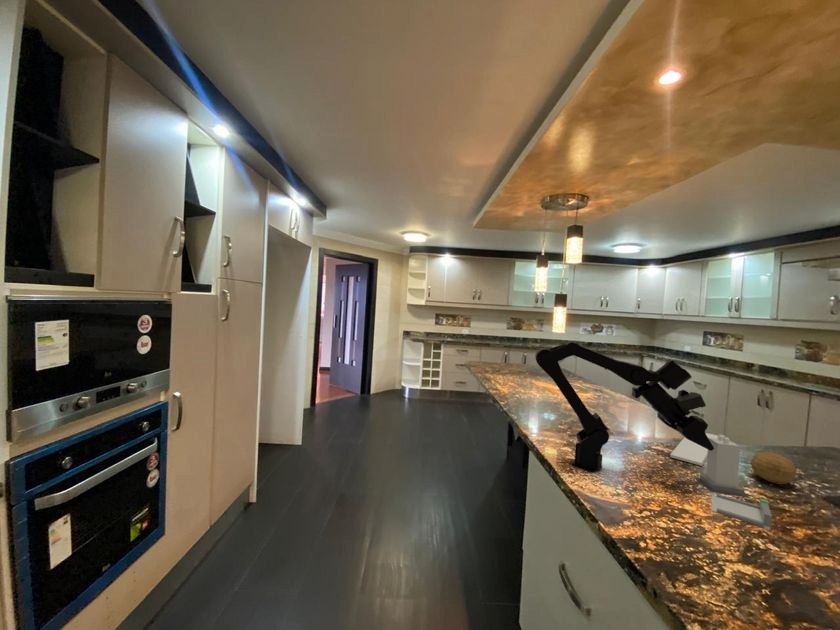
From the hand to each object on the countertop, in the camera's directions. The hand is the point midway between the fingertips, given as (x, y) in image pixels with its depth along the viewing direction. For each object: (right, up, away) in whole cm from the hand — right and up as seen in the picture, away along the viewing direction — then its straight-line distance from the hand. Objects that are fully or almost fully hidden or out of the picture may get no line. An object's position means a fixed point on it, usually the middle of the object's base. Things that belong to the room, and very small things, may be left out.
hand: (703, 444), depth 99 cm
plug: (+4, -11, -1) cm, 12 cm away
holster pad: (+4, -12, -1) cm, 12 cm away
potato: (+25, -13, +6) cm, 29 cm away
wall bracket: (+17, -13, +25) cm, 33 cm away
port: (-3, -11, -14) cm, 18 cm away
